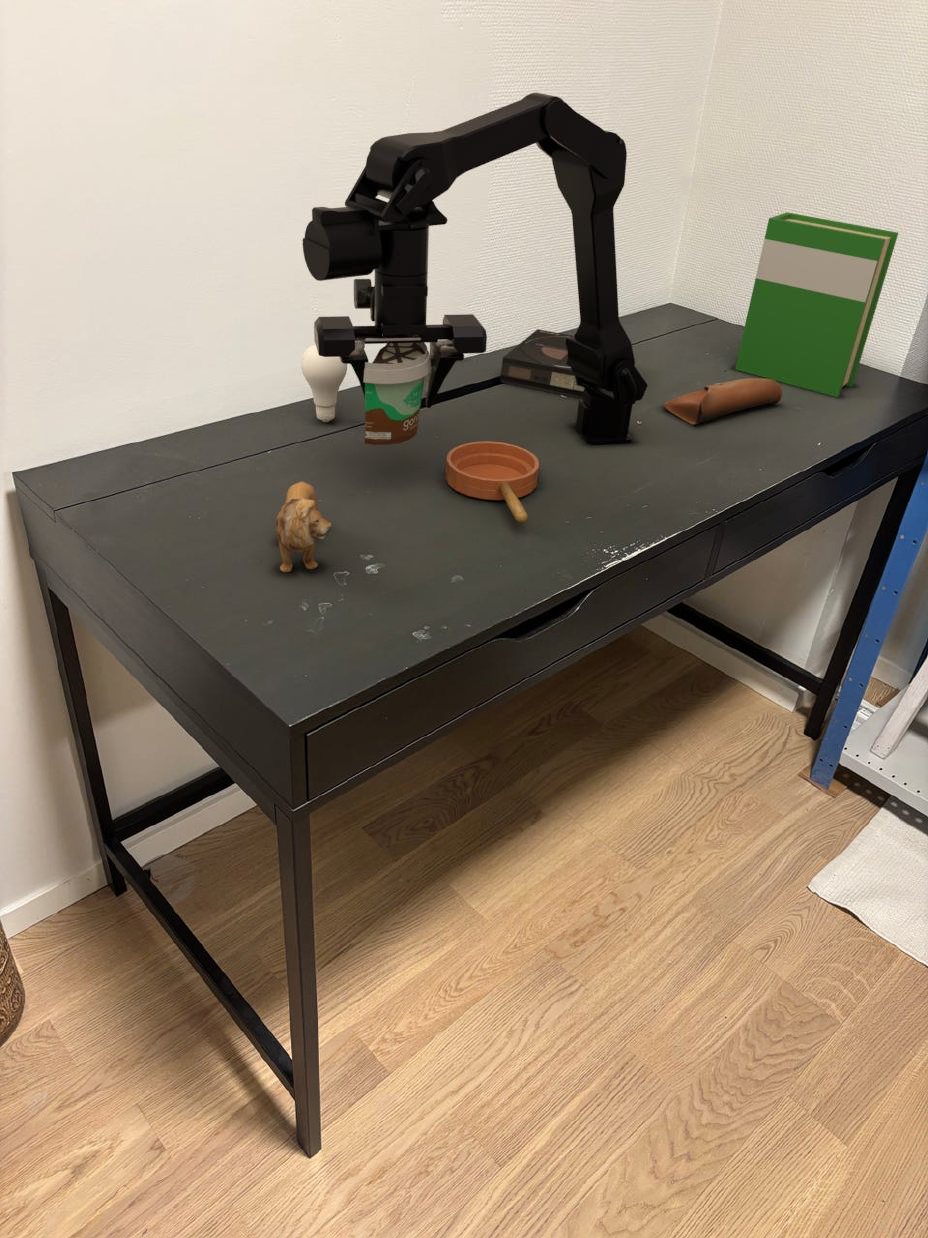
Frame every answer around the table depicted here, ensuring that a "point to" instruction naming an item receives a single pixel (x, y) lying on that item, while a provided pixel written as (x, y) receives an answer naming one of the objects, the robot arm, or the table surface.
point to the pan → (491, 469)
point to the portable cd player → (541, 365)
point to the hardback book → (814, 301)
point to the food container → (394, 392)
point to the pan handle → (513, 502)
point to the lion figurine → (300, 525)
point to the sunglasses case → (724, 399)
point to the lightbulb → (323, 380)
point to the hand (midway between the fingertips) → (399, 407)
